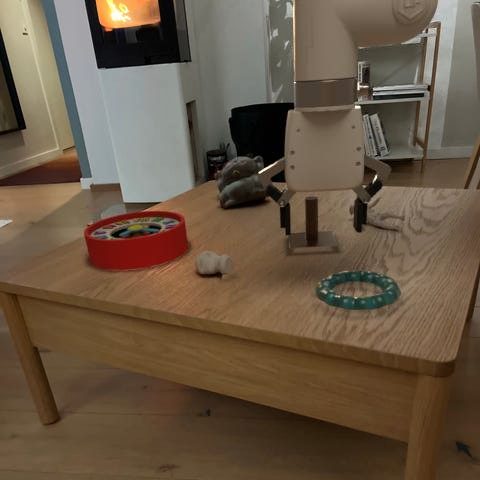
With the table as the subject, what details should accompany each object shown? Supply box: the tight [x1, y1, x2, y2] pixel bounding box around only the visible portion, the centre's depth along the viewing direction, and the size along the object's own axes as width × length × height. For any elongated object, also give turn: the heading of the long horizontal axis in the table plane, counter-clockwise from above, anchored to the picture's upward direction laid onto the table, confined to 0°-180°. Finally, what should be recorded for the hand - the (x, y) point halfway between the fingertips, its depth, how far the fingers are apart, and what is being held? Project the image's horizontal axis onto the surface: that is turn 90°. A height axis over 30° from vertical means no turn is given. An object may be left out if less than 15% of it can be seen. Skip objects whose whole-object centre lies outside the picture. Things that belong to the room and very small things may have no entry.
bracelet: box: [315, 269, 402, 311], centre depth 70 cm, size 12×12×2 cm
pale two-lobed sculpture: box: [194, 250, 235, 276], centre depth 83 cm, size 4×8×5 cm
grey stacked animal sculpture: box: [214, 152, 271, 209], centre depth 125 cm, size 15×12×14 cm
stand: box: [287, 196, 338, 249], centre depth 91 cm, size 9×9×9 cm
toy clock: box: [83, 210, 189, 272], centre depth 96 cm, size 20×6×20 cm
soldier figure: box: [348, 196, 406, 231], centre depth 100 cm, size 8×5×12 cm
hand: (322, 231), depth 66 cm, fingers open, 9 cm apart
